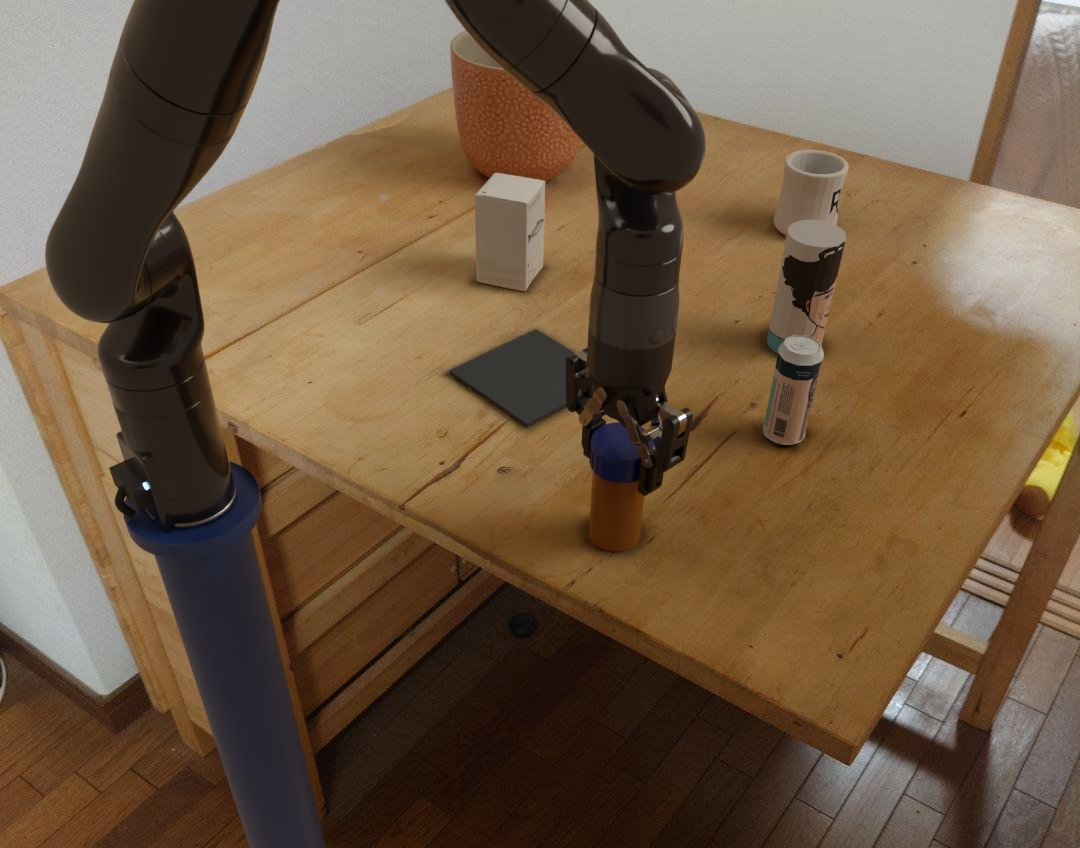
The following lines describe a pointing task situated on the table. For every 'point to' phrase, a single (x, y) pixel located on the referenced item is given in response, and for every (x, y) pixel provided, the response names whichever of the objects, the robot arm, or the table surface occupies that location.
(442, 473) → the table surface
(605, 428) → the jar lid
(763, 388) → the table surface
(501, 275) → the white packaging box
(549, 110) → the planter
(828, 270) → the white cylindrical canister
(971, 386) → the table surface
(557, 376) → the mat
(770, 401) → the beer can
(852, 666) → the table surface
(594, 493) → the jar
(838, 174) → the mug
